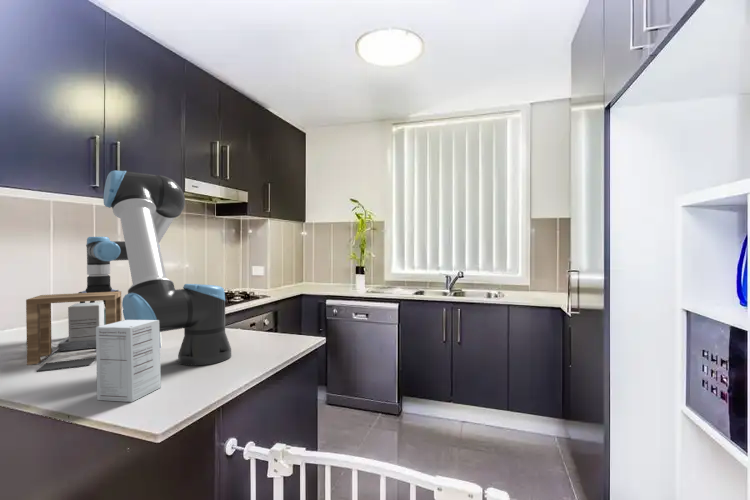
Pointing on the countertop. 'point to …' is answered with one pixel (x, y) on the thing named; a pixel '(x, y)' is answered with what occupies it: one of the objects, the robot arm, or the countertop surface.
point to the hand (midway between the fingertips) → (99, 333)
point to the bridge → (41, 318)
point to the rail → (48, 356)
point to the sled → (78, 342)
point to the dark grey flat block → (66, 364)
